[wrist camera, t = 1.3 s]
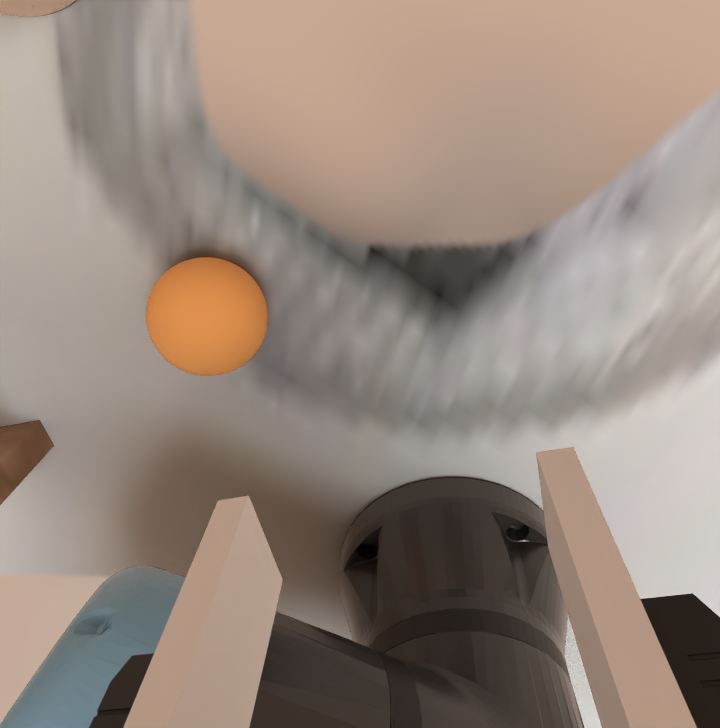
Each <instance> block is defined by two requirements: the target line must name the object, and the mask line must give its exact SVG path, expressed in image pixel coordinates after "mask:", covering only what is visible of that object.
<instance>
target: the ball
mask: <svg viewBox="0 0 720 728" xmlns="http://www.w3.org/2000/svg"><path fill="white" fill-rule="evenodd" d="M146 323H147V328H148V332H149V335H150V338H151V340H152V342H153V344H154V346H155V347H156V349H157V350H158V351H159V353H160V354H161V355H162V356H163V357H164V358H165V359H166V360H167V361H168V362H170V363H171V364H172V365H174V366H176V367H177V368H179V369H181V370H183V371H186V372H189V373H192V374H196V375H203V376H212V375H221V374H225V373H228V372H230V371H233V370H235V369H237V368H239V367H241V366H242V365H244V364H245V363H246V362H247V361H249V360H250V359H251V358H252V357H253V356H254V355H255V353H256V352H257V350H258V349H259V347H260V346H261V344H262V342H263V340H264V337H265V334H266V331H267V325H268V311H267V305H266V301H265V298H264V296H263V293H262V291H261V289H260V287H259V286H258V284H257V283H256V282H255V280H254V279H253V278H252V277H251V276H250V275H249V274H248V273H247V272H246V271H245V270H243V269H242V268H240V267H239V266H237V265H235V264H233V263H231V262H228V261H226V260H222V259H218V258H210V257H200V258H193V259H190V260H186V261H183V262H181V263H179V264H177V265H175V266H173V267H172V268H170V269H169V270H167V271H166V272H165V273H164V274H163V275H162V276H161V277H160V279H159V280H158V281H157V282H156V284H155V285H154V287H153V289H152V291H151V293H150V296H149V298H148V302H147V308H146Z"/></svg>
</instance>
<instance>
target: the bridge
mask: <svg viewBox="0 0 720 728" xmlns="http://www.w3.org/2000/svg"><path fill="white" fill-rule="evenodd" d="M52 447H53V444H52V442H51V440H50V438H49V437H48V435H47V433H46V431H45V430H44V428H43V426H42V424H41V422H40V421H39V420H38V421H33V422H27V423H22V424H16V425H11V426H5V427H0V505H1V504H2V503H3V502H4V500H5V499H6V498H7V497H8V496H9V495H10V494H11V493H12V492H13V490H14V489H15V488H16V487H17V486H18V485H19V484H20V483H21V482H22V480H23V479H24V478H25V477H26V476H27V475H28V474H29V473H30V472H31V470H32V469H33V468H34V467H35V466H36V465H37V464H38V463H39V462H40V460H41V459H42V458H43V457H44V456H45V455H46V454H47V453H48V452H49V450H50V449H51V448H52Z"/></svg>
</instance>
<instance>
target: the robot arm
mask: <svg viewBox="0 0 720 728" xmlns="http://www.w3.org/2000/svg"><path fill="white" fill-rule="evenodd" d="M536 454H537V462H538V470H539V478H540V486H541V494H542V502H543V510H544V512H543V511H542V510H541V509H540V508H539V507H537V506H536V505H535V504H534V503H533V502H531V501H530V500H528V499H527V498H525V497H524V496H522V495H520V494H518V493H517V492H514V491H512V490H510V489H508V488H505V487H503V486H500V485H497V484H494V483H490V482H486V481H481V480H475V479H467V478H439V479H431V480H425V481H420V482H416V483H412V484H409V485H406V486H403V487H401V488H398V489H396V490H394V491H391V492H389V493H387V494H386V495H384V496H382V497H381V498H379V499H377V500H376V501H375V502H373V503H372V504H371V505H369V506H368V507H367V508H366V509H365V510H364V511H363V512H362V513H361V514H360V515H359V516H358V517H357V519H356V520H355V521H354V523H353V524H352V526H351V527H350V529H349V531H348V533H347V535H346V538H345V541H344V544H343V548H342V556H341V565H340V573H339V585H340V594H341V599H342V603H343V606H344V610H345V614H346V617H347V621H348V624H349V628H350V632H351V635H352V639H353V641H352V640H349V639H346V638H344V637H341V636H338V635H336V634H333V633H331V632H328V631H325V630H323V629H320V628H318V627H315V626H312V625H310V624H307V623H305V622H302V621H299V620H297V619H294V618H292V617H289V616H286V615H284V614H281V613H278V612H276V608H277V604H278V600H279V595H280V591H281V587H282V582H283V579H282V577H281V574H280V572H279V569H278V567H277V564H276V562H275V559H274V557H273V554H272V552H271V549H270V547H269V544H268V542H267V539H266V537H265V535H264V532H263V530H262V527H261V525H260V522H259V520H258V517H257V515H256V512H255V510H254V507H253V505H252V502H251V500H250V497H249V496H243V497H236V498H230V499H223V500H218V502H217V504H216V506H215V509H214V511H213V514H212V516H211V518H210V521H209V523H208V526H207V528H206V530H205V533H204V535H203V538H202V540H201V542H200V545H199V547H198V550H197V552H196V554H195V557H194V559H193V562H192V564H191V566H190V569H189V571H188V574H187V576H186V577H183V576H180V575H177V574H174V573H171V572H168V571H165V570H162V569H159V568H156V567H151V566H134V567H129V568H126V569H124V570H121V571H119V572H118V573H116V574H114V575H112V576H111V577H110V578H108V579H107V580H106V581H105V582H103V583H102V585H100V587H99V588H98V589H97V590H96V591H95V592H94V594H93V595H92V596H91V598H90V599H89V600H88V601H87V602H86V604H85V605H84V606H83V608H82V609H81V610H80V612H79V613H78V614H77V616H76V617H75V618H74V620H73V621H72V622H71V624H70V625H69V627H68V628H67V629H66V631H65V632H64V633H63V635H62V636H61V638H60V639H59V640H58V642H57V643H56V644H55V646H54V647H53V649H52V650H51V651H50V653H49V654H48V656H47V657H46V659H45V660H44V661H43V663H42V664H41V666H40V667H39V669H38V670H37V671H36V673H35V674H34V676H33V677H32V678H31V680H30V681H29V683H28V684H27V686H26V687H25V689H24V691H23V692H22V693H21V695H20V696H19V697H18V699H17V700H16V702H15V703H14V705H13V706H12V708H11V709H10V711H9V712H8V714H7V715H6V716H5V718H4V720H3V721H2V722H1V724H0V728H584V725H583V722H582V718H581V715H580V711H579V708H578V704H577V701H576V698H575V694H574V691H573V687H572V684H571V681H570V677H569V673H568V669H567V665H566V661H565V657H564V653H565V642H566V631H567V620H568V615H569V619H570V622H571V625H572V629H573V632H574V635H575V639H576V642H577V645H578V649H579V652H580V655H581V659H582V662H583V665H584V669H585V672H586V675H587V679H588V682H589V685H590V689H591V692H592V695H593V699H594V702H595V705H596V709H597V712H598V715H599V719H600V722H601V725H602V728H720V617H719V616H717V615H716V614H715V613H714V612H713V611H712V610H711V609H710V608H708V607H707V606H706V605H705V604H704V603H703V602H702V601H700V600H699V599H698V598H697V597H696V596H695V595H694V594H684V595H675V596H666V597H656V598H647V599H640V598H639V595H638V593H637V591H636V588H635V586H634V584H633V582H632V579H631V577H630V575H629V573H628V570H627V568H626V566H625V564H624V561H623V559H622V557H621V554H620V552H619V550H618V548H617V545H616V543H615V541H614V539H613V536H612V534H611V532H610V530H609V527H608V525H607V523H606V520H605V518H604V516H603V514H602V511H601V509H600V507H599V505H598V502H597V500H596V498H595V495H594V493H593V491H592V489H591V486H590V484H589V482H588V480H587V477H586V475H585V473H584V471H583V468H582V466H581V464H580V461H579V459H578V457H577V455H576V452H575V450H574V448H573V447H570V448H563V449H556V450H550V451H543V452H536Z"/></svg>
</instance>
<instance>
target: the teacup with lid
mask: <svg viewBox="0 0 720 728" xmlns="http://www.w3.org/2000/svg"><path fill="white" fill-rule="evenodd" d="M74 1H75V0H0V14H7V15H16V16H42V15H47V14H51V13H54V12H57V11H59V10H61V9H63V8H65V7H67V6H69V5H70V4H71V3H73V2H74Z"/></svg>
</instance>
